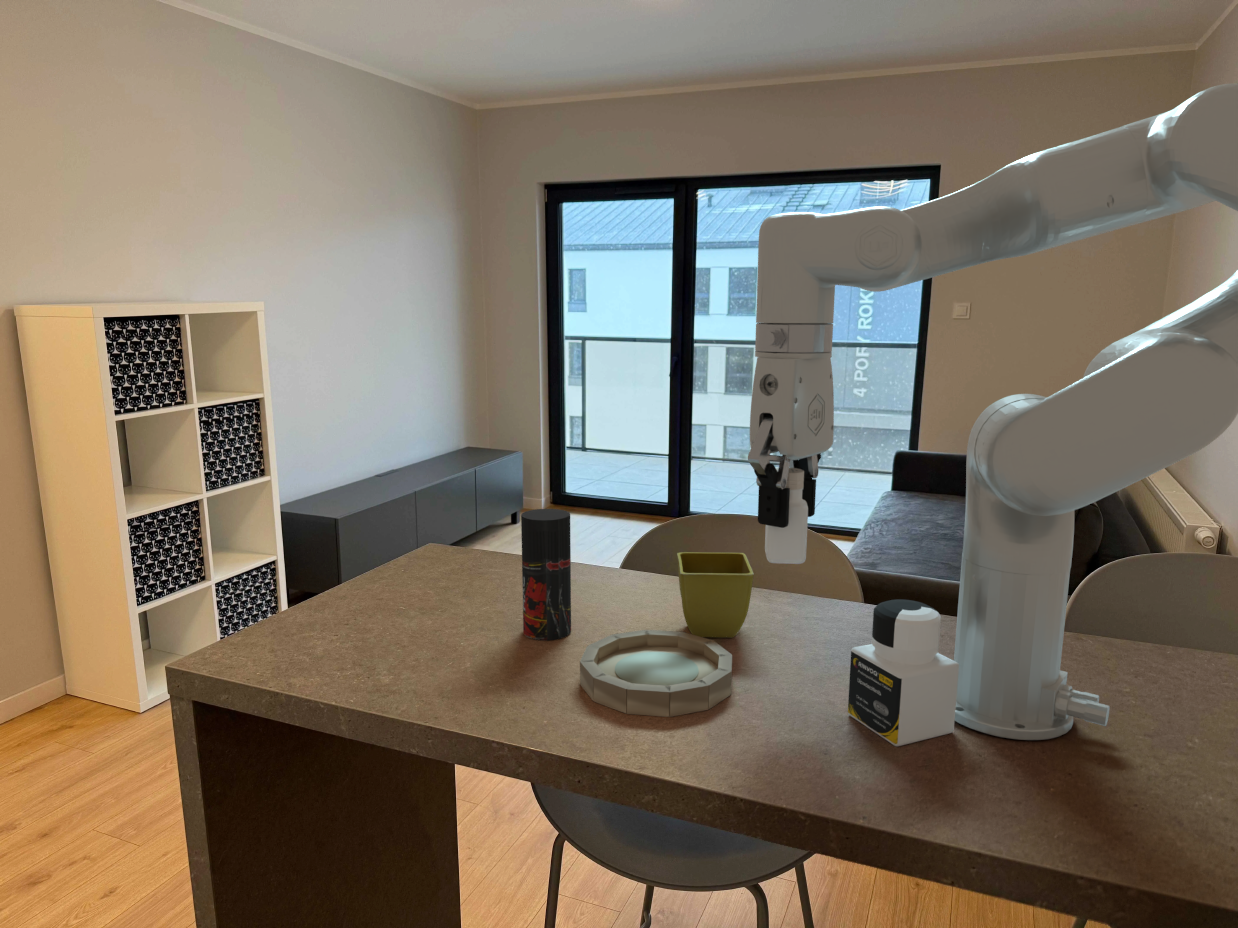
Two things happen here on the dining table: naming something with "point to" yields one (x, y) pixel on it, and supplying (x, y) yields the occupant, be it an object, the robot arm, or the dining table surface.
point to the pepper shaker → (790, 526)
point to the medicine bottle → (903, 676)
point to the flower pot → (714, 592)
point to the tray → (656, 672)
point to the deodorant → (546, 574)
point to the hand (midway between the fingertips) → (786, 518)
